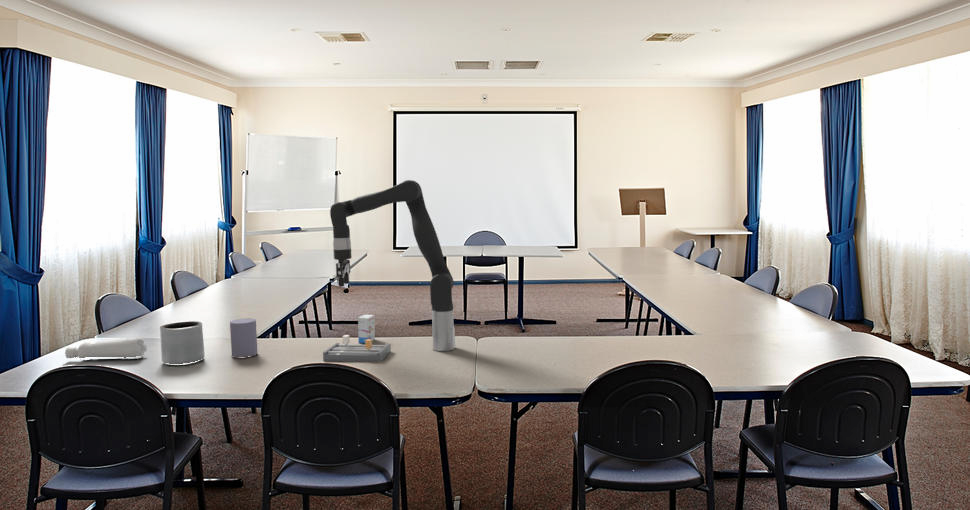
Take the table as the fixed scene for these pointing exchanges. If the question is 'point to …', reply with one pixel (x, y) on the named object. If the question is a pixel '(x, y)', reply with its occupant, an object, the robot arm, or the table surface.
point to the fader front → (368, 344)
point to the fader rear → (346, 340)
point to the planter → (182, 342)
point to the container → (243, 337)
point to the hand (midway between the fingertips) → (344, 285)
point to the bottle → (109, 349)
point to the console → (356, 353)
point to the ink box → (366, 328)
